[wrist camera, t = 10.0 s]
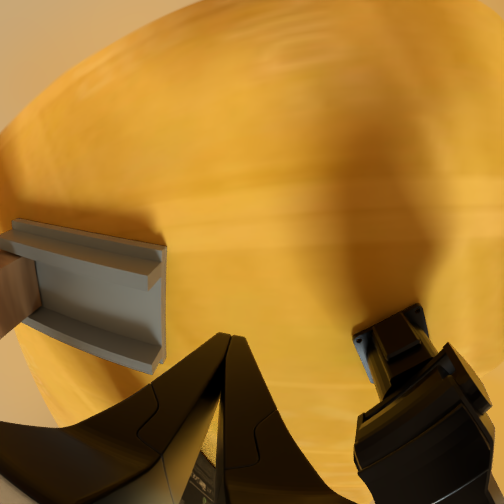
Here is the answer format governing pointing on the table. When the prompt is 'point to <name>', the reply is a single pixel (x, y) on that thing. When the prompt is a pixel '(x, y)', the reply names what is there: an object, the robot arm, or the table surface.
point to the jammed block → (17, 290)
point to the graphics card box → (200, 483)
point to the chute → (96, 291)
